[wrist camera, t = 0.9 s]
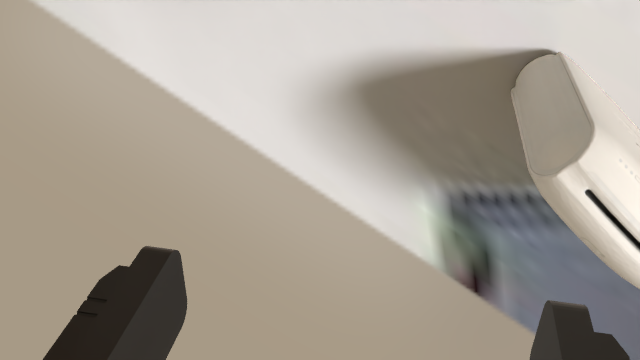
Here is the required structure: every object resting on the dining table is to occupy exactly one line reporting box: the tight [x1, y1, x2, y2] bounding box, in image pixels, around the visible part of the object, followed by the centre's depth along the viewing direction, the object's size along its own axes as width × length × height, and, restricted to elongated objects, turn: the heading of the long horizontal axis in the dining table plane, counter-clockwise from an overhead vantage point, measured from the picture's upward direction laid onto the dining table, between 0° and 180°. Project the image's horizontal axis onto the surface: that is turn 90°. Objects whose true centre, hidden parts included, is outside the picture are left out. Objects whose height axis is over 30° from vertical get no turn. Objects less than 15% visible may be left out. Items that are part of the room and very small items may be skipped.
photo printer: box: [511, 52, 640, 289], centre depth 32 cm, size 10×4×12 cm, turn 48°
